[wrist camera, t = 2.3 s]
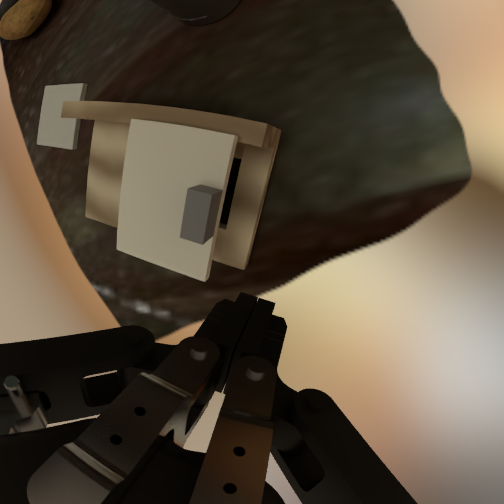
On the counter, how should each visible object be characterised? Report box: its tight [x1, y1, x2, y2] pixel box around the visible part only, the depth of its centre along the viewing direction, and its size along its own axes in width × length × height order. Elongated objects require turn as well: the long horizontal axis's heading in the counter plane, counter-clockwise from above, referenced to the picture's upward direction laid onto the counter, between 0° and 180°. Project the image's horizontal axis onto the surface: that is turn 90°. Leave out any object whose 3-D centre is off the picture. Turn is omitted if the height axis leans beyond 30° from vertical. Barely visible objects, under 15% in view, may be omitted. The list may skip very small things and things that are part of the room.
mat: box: [37, 83, 88, 150], centre depth 34 cm, size 10×10×1 cm
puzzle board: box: [61, 101, 282, 270], centre depth 30 cm, size 16×24×8 cm, turn 77°
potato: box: [0, 0, 52, 40], centre depth 26 cm, size 10×14×8 cm
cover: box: [117, 119, 238, 282], centre depth 24 cm, size 13×10×3 cm
